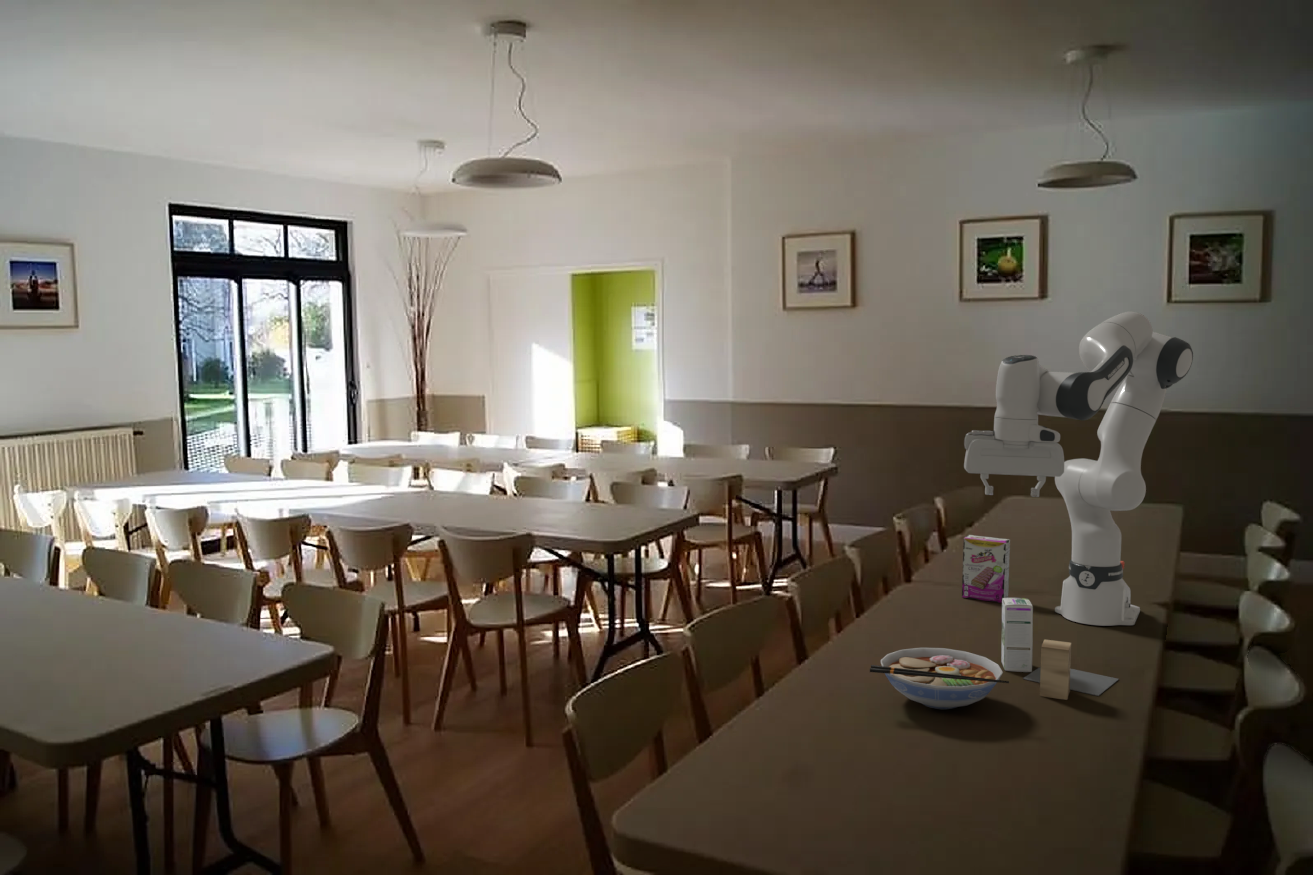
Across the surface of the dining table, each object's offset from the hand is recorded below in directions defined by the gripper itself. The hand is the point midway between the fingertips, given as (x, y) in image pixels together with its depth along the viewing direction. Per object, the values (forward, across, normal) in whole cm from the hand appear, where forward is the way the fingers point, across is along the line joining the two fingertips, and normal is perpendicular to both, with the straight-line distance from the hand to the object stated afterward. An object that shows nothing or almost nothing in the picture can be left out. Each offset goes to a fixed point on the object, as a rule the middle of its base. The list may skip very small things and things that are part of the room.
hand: (1011, 495), depth 218 cm
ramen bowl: (+37, -16, -28) cm, 49 cm away
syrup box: (+36, +2, -5) cm, 37 cm away
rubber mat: (+36, +12, -11) cm, 39 cm away
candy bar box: (+35, +3, +49) cm, 61 cm away
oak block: (+36, +7, -20) cm, 42 cm away
